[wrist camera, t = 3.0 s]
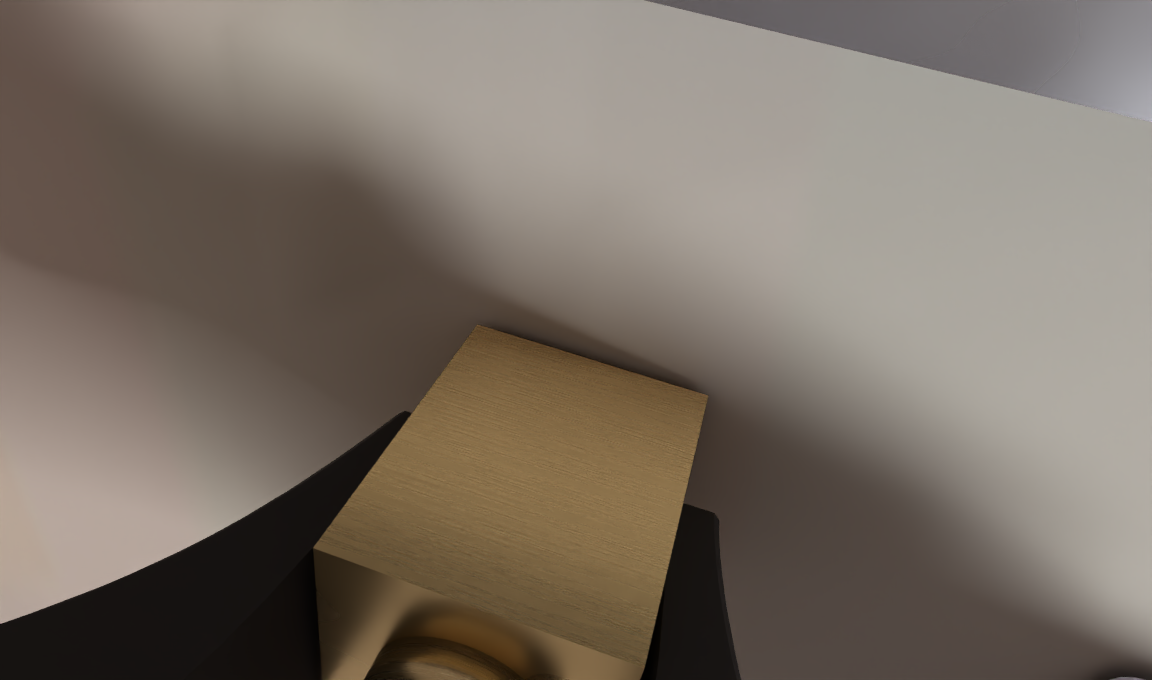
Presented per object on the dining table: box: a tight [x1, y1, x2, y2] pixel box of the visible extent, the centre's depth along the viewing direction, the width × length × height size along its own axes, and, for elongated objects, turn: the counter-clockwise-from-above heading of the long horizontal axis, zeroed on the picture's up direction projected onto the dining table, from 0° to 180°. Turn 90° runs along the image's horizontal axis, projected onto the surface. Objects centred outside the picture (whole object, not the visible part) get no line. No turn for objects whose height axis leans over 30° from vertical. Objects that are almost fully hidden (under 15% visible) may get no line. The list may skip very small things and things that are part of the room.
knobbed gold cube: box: [313, 324, 708, 680], centre depth 11 cm, size 4×4×6 cm
